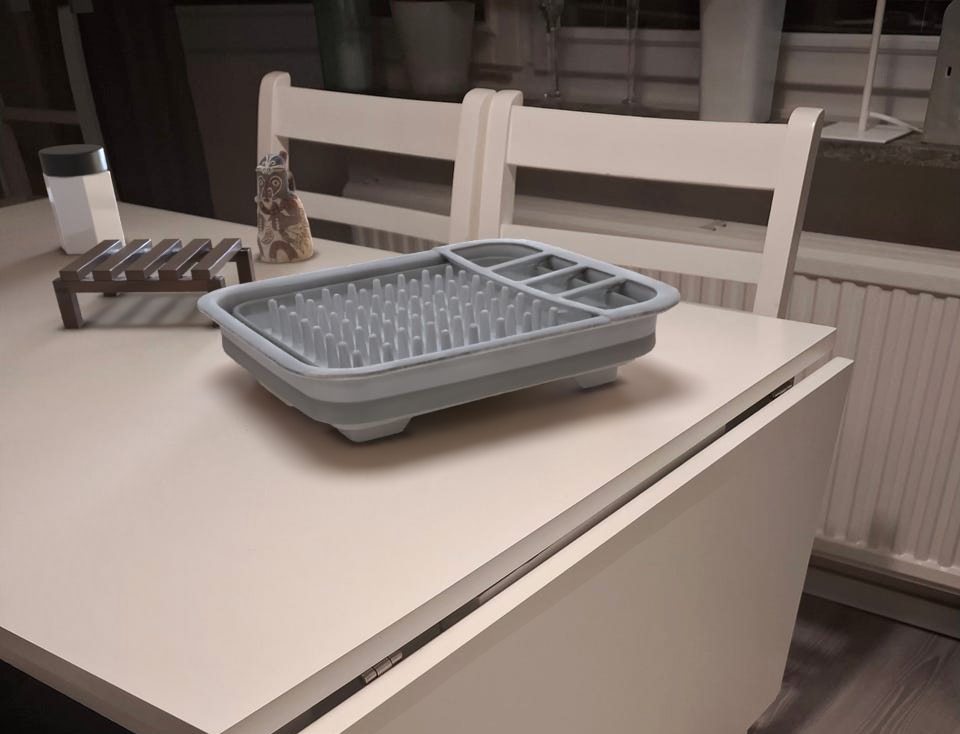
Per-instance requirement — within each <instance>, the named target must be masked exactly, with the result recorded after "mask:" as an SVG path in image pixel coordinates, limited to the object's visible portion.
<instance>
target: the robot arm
mask: <svg viewBox="0 0 960 734" xmlns="http://www.w3.org/2000/svg"><path fill="white" fill-rule="evenodd" d="M4 1H5V5H6V9H7V12H8V13H15V12H31V7H30V2H29V0H4ZM67 3H68V8H69V12H70V14H73V15H74V14H88V13H94V6H93V2H92V0H67Z"/></svg>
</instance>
